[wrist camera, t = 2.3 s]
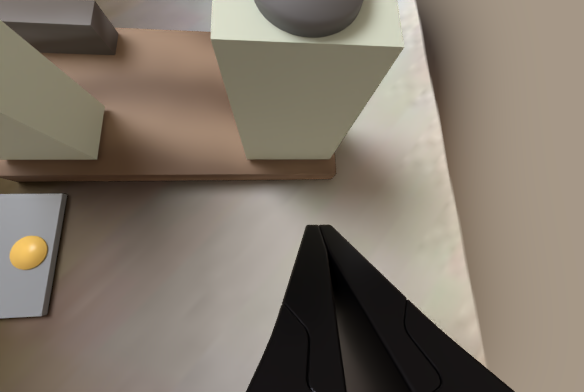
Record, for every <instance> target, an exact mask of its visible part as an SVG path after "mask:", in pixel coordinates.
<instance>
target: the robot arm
mask: <svg viewBox="0 0 584 392" xmlns="http://www.w3.org/2000/svg"><path fill="white" fill-rule="evenodd" d="M246 392H514V391H513V390H512V389H511V388H510V387H508V386H507V385H506V384H505V383H504V382H502V381H501V380H500V379H499V378H498V377H496V376H495V375H494V374H493V373H492V372H490V371H489V370H488V369H487V368H486V367H484V366H483V365H482V364H481V363H480V362H478V361H477V360H476V359H475V358H474V357H472V356H471V355H470V354H469V353H468V352H466V351H465V350H464V349H463V348H462V347H460V346H459V345H458V344H457V343H456V342H454V341H453V340H452V339H451V338H450V337H449V336H447V335H446V334H445V333H444V332H443V331H442V330H441V329H439V328H438V327H437V326H436V325H435V324H434V323H433V322H432V321H431V320H429V319H428V318H427V317H426V316H425V315H424V314H423V313H422V312H421V311H420V310H419V309H418V308H417V307H416V306H415V305H414V304H412V303H411V302H410V301H409V300H406V297H405V296H404V295H403V294H402V293H401V292H400V291H399V290H398V289H397V288H396V287H395V286H394V285H393V284H392V283H391V282H389V281H388V280H387V279H386V278H385V277H384V276H383V275H382V274H381V273H380V272H379V271H378V270H377V269H376V268H375V267H374V266H373V265H372V264H371V263H370V262H369V261H368V260H367V259H366V258H365V257H364V256H362V255H361V254H360V253H359V252H358V251H357V250H356V249H355V248H354V247H353V246H352V245H351V244H350V243H349V242H348V241H347V240H346V239H345V238H344V237H343V236H342V235H341V234H340V233H339V232H338V231H336V230H335V229H334V228H333V227H332V226H331V225H319V226H318V225H307V226H306V228H305V231H304V235H303V238H302V241H301V244H300V247H299V251H298V254H297V257H296V260H295V263H294V267H293V270H292V273H291V276H290V280H289V283H288V286H287V289H286V292H285V296H284V299H283V302H282V305H281V308H280V311H279V314H278V318H277V320H276V323H275V326H274V329H273V332H272V335H271V337H270V340H269V342H268V344H267V347H266V349H265V351H264V354H263V356H262V358H261V360H260V363H259V365H258V367H257V369H256V371H255V373H254V376H253V378H252V380H251V382H250V384H249V386H248V388H247V391H246Z"/></svg>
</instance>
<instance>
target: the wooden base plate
mask: <svg viewBox="0 0 584 392" xmlns="http://www.w3.org/2000/svg"><path fill="white" fill-rule="evenodd" d="M0 20H1V21H2V22H4V23H5V24H6V25H7V26H8V27H10V28H11V29H12V30H13V31H14V32H16V33H17V34H18V35H19V36H20V37H22V38H23V39H24V40H25V41H27V42H28V43H29V44H30V45H31V46H33V47H34V48H35V49H36V50H37V51H39V52H40V53H41V54H42V55H43V56H45V57H46V58H47V59H48V60H49V61H51V62H52V63H53V64H54V65H56V66H57V67H58V68H59V69H60V70H62V71H63V72H64V73H65V74H66V75H68V76H69V77H70V78H71V79H72V80H74V81H75V82H76V83H77V84H79V85H80V86H81V87H82V88H83V89H85V90H86V91H87V92H88V93H89V94H91V95H92V96H93V97H94V98H95V99H97V100H98V101H99V102H100V103H101V104H103V105H104V106H105V109H104V115H103V122H102V129H101V136H100V143H99V150H98V157H97V160H0V178H4V179H8V180H12V181H16V182H49V181H172V180H295V179H332V178H333V177H334V176H335V174H336V164H335V152H334V154H333V155H332V157H331V158H330V159H247V158H246V155H245V152H244V148H243V145H242V142H241V138H240V135H239V132H238V128H237V125H236V122H235V118H234V115H233V112H232V109H231V105H230V102H229V99H228V95H227V92H226V89H225V85H224V82H223V79H222V75H221V72H220V69H219V66H218V62H217V59H216V56H215V52H214V49H213V46H212V42H211V32H199V31H177V30H154V29H131V28H114V27H113V25H112V24H111V22H110V21H109V20H108V18H107V17H106V16H105V14H104V13H103V11H102V10H101V9H100V7H99V6H98V5H97V3H96V2H95V1H91V0H0Z"/></svg>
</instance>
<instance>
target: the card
mask: <svg viewBox="0 0 584 392" xmlns="http://www.w3.org/2000/svg"><path fill="white" fill-rule="evenodd" d="M66 199H67V195H66V194H0V318H16V317H35V316H43V315H47V313H48V307H49V301H50V295H51V289H52V283H53V277H54V271H55V265H56V259H57V253H58V247H59V241H60V235H61V229H62V223H63V217H64V211H65V205H66Z"/></svg>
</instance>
